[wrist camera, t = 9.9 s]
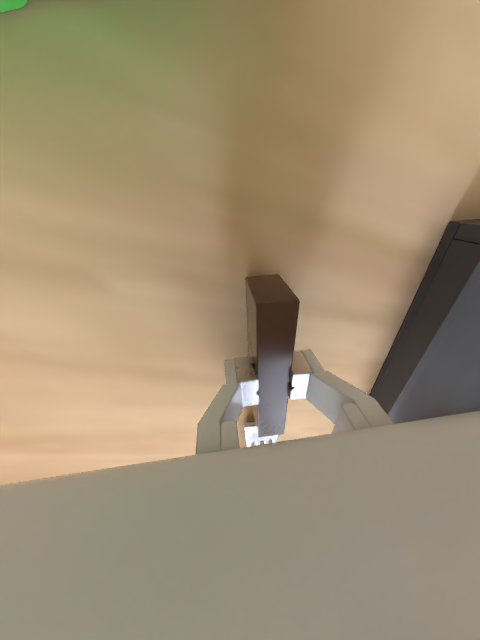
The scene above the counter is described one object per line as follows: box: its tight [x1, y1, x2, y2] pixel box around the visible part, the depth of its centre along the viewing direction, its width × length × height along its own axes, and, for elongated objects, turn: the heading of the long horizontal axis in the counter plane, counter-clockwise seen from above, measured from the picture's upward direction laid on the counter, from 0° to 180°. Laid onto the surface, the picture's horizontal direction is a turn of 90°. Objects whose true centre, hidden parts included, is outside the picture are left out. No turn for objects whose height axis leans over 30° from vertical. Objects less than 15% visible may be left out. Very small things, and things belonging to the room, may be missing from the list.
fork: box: [244, 274, 300, 447], centre depth 13 cm, size 18×3×3 cm, turn 3°
